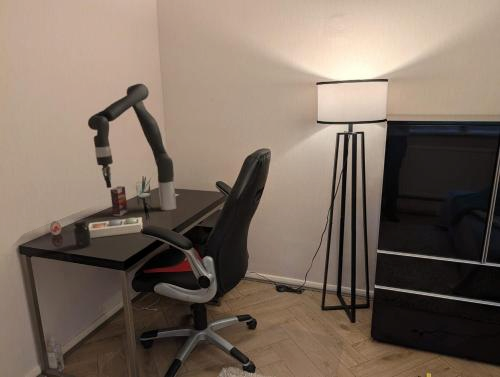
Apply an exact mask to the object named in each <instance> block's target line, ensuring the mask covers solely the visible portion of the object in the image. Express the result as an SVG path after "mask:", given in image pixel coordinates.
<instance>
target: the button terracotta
mask: <svg viewBox="0 0 500 377" xmlns="http://www.w3.org/2000/svg"><path fill="white" fill-rule="evenodd" d="M101 227H105V226H104V224H97V225H94V226H93V228H101Z"/></svg>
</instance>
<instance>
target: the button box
mask: <svg viewBox="0 0 500 377" xmlns="http://www.w3.org/2000/svg"><path fill="white" fill-rule="evenodd" d="M136 218H137V223H136V224H127V225H126V221H125V220H126V219H127V218H124V219H119V220H120V221H121V225H119V226H110V227H109V221H110V220H106V221H95V222H89V224H88V225H87V226H88V227H89V231H90V237H91V239H94V238H101V237H110V236H111V237H112V236H118V235H127V234H134V233H141V232H140V231H141V229H142V230H143V217H136ZM97 224H104V226H105V227H101V228H93V226H94V225H97Z"/></svg>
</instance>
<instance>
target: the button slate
mask: <svg viewBox="0 0 500 377" xmlns="http://www.w3.org/2000/svg"><path fill="white" fill-rule="evenodd" d="M120 220H121V219H112V220H108V221H109V227H110V226H119V225H121V221H120Z"/></svg>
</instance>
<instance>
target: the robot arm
mask: <svg viewBox="0 0 500 377" xmlns="http://www.w3.org/2000/svg"><path fill="white" fill-rule="evenodd" d="M149 94H150V92H149V89H148V86H146V85H145V84H143V83H136V84H133V85H130V86H128V87H127V89H126V95H125V96H124V97H122V98H120V99H117V100H116V101H114V102H113V103H111V104H110V105H108V106H107V107H106V108H104V109H103V110H102V111H99V112H97V113H95V114H93V115H91V117H89V118H88V121H87V125H88V128H89V129H91V130H94V131H96V135H94V137H93V143H94V150H95V151H94V152H95V158H96V162H97V165H98V166H102V167H101V172H102V176H103V178H104V181H105V184H106V188H107V189H109V188H110V189H111V188H112V181H111V180H112V178H111V177H112V175H111V174H112V173H111V169H112V168H111V166H110V165H112V164H113V162H114V161H113V160H114V159H113V155H112V150H111V149H112V148H111V146H110V142H109V140H110V139H109V134H110V122H113V121H115V120H116V119H117V118H120V116H122V115H123V114H124V113H125V112H126V111H128V110H129V109H131V107H132V109H133V110H134V113H135V115H136V117H137V120H138V122H139V124H140V127H141V130H142V132H143V135H144V137H145V139H146V142H147V143H148V145H149V147H150V149H151V151H152V155H153V158H154V161H155V165H156V169H157V184H158V185H157V186H158V193H159V204H160V210H161V211H173V210H176V209H177V200H176V193H175V181H174V176H175V174H174V163H173V160H172V158H171V157H170V155H168V153H167V150H166V148H165V147H164V146H165V145H164V143H163V137H162V134H161V129H160V127H159V125H158V122H157V119H155V117H153V116H152V114H151V113H150V112H149V111H148V110H147V108H146V107H145V105H144V101H145V100H147V98H148V97H149Z"/></svg>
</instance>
